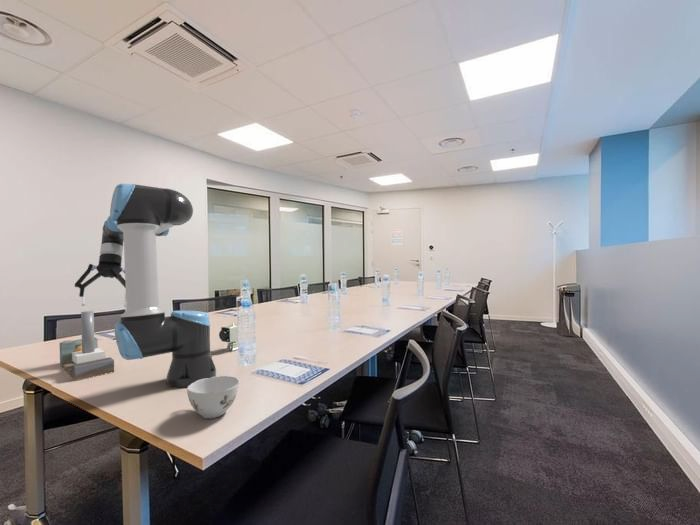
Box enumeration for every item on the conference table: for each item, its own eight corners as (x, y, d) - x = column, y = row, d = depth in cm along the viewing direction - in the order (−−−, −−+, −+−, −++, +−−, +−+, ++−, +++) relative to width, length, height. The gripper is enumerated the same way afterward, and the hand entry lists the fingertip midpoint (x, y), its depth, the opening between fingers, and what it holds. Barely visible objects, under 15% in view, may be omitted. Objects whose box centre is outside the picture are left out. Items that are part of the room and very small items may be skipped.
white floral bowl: (249, 409, 87) (248, 379, 87) (207, 430, 76) (206, 396, 76) (214, 397, 95) (214, 370, 95) (172, 415, 85) (171, 384, 85)
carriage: (104, 364, 121) (103, 311, 121) (77, 369, 115) (76, 314, 115) (98, 360, 126) (97, 309, 126) (72, 365, 120) (71, 312, 120)
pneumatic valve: (247, 347, 150) (246, 321, 150) (226, 354, 140) (225, 326, 140) (238, 346, 153) (238, 320, 152) (217, 352, 142) (217, 325, 142)
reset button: (88, 354, 128) (88, 344, 128) (75, 356, 125) (75, 346, 125) (84, 351, 133) (84, 341, 133) (71, 353, 130) (71, 343, 130)
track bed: (114, 371, 119) (113, 346, 119) (75, 380, 110) (74, 353, 110) (94, 358, 136) (94, 336, 136) (60, 365, 128) (59, 341, 128)
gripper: (143, 262, 146) (140, 308, 139) (71, 254, 129) (62, 306, 122) (147, 256, 141) (144, 304, 134) (72, 248, 124) (64, 302, 117)
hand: (105, 305), depth 128 cm, fingers open, 13 cm apart
